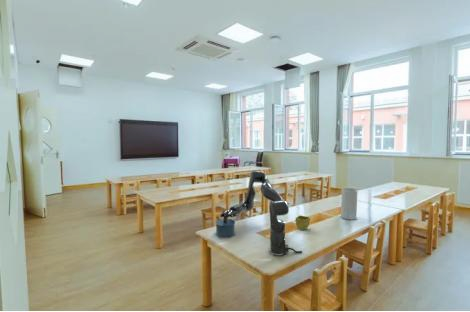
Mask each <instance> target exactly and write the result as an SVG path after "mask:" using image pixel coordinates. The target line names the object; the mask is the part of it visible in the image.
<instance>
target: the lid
mask: <svg viewBox="0 0 470 312" xmlns="http://www.w3.org/2000/svg"><path fill="white" fill-rule="evenodd" d="M226 214H227V213H226V212H225V213H223V215H226ZM234 224H236V221H235V220H234V219H232V218H228V217H227V218H224V217H223V218H219V219H217V220H215V226H216V225H218V226H222V227H227V226H232V225H234Z"/></svg>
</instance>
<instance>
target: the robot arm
mask: <svg viewBox="0 0 470 312" xmlns="http://www.w3.org/2000/svg"><path fill="white" fill-rule="evenodd" d="M255 183H256V184H257V183H258V184H261V185H260V189H259V190H260V192H261V194H262V196H263V197H264V198H265V199H266V200H268V201H269V206H268V207H269V226H270V227H269V253H270V254H272V255H273V256H275V257H276V256H278V257H281V256H285V255H286V253H289V250H291V251H293V252H294V253H296V254H300V253H303V251H302V250H295V248H292V247H289V244H286V221H284V220H283V219H280V218H278V217H281V216H286V215H288V214H289V211H290V209H289V204H288V203H287V201H286V200H285V199H284V198H283V197H282V196H281V195H280V194H279V192H278V191H277V190H276V189H275V187H274V185H273V184H272V183H271V181H270V180H269V178H268V176H267V174H266V173H265V172H264V171H263V170H252V171H251V172H250V174H249V181H248V187H247V191H246V194H245V198H244V199H243V200H242V201H241V202H240V203H238V204H235V205H233V206H231V207H229V208H228V209H227V210H225V209H223V210H222V211H221V214H220V218H223V219H224V218H227V219H228V218H234V217H238V215H240V214H242V213H244V212H245V211H248V212H251V211H253V209H254V206H255V197H256V194H257V191H256V189H255V187H254V184H255ZM225 212H226V213H227V214H226V215H223V213H225Z"/></svg>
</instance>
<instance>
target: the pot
mask: <svg viewBox="0 0 470 312" xmlns="http://www.w3.org/2000/svg"><path fill="white" fill-rule="evenodd" d="M235 224H236V223H235ZM235 224H234V225H232V226H227V227H222V226H218V225H216V224H215V235H216V236H217V237H218V238H225V239H226V238H227V239H228V238H231V237H233V236H235V232H236V231H235V229H236V228H235Z"/></svg>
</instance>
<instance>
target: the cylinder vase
mask: <svg viewBox="0 0 470 312" xmlns="http://www.w3.org/2000/svg"><path fill="white" fill-rule="evenodd" d="M340 201H341V202H340V217H341V219H345V220H349V221H351V220H356V219H357V214H358V213H357V212H358V189H357V188H351V187H343V188H341V199H340Z"/></svg>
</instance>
